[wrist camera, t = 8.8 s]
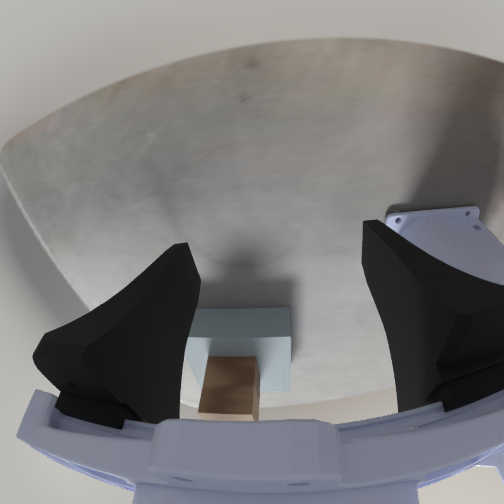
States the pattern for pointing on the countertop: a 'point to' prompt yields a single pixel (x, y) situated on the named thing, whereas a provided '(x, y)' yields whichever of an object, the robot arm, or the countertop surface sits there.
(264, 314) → the slate block
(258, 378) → the walnut block
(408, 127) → the countertop surface
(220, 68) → the countertop surface
